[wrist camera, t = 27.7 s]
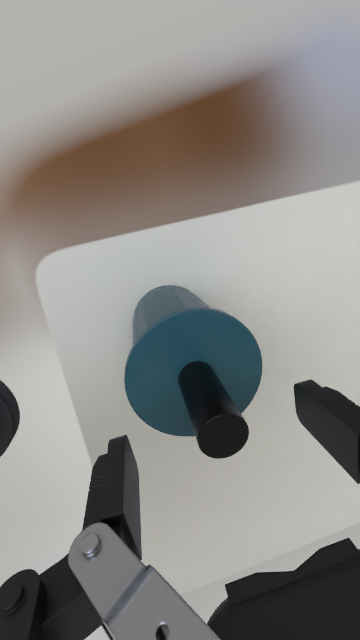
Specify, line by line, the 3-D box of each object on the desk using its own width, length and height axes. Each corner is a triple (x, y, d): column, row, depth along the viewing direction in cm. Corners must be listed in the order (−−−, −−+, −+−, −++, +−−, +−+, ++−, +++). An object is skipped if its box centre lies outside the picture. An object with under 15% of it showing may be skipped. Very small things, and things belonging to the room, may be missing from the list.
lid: (145, 439, 18) (151, 537, 12) (107, 325, 15) (91, 379, 9) (261, 403, 19) (320, 479, 13) (244, 289, 16) (310, 318, 10)
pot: (144, 361, 28) (151, 438, 17) (124, 295, 26) (119, 337, 15) (209, 342, 29) (256, 406, 18) (196, 277, 26) (241, 304, 16)
